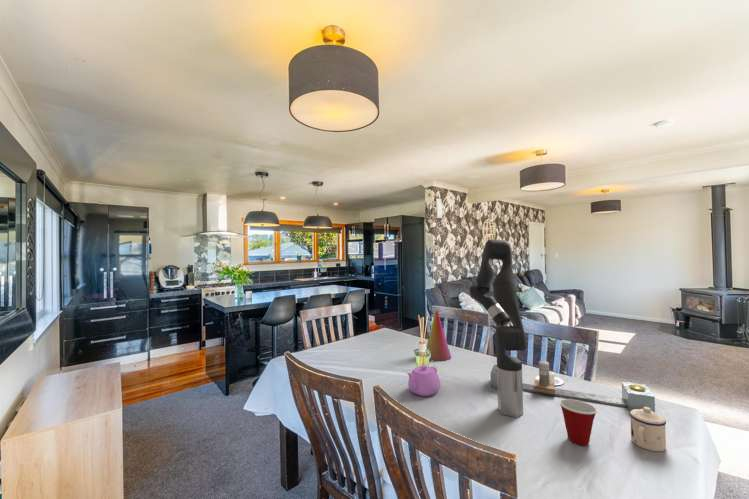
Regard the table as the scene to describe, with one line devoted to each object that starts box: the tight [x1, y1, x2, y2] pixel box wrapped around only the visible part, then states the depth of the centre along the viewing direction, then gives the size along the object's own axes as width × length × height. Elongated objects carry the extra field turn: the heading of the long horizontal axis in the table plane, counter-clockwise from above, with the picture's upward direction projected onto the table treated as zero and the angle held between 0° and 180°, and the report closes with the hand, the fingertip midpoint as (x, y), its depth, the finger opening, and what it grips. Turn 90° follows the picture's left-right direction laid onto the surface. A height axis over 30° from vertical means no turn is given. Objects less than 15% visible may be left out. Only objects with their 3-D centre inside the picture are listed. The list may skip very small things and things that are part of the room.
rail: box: [490, 364, 656, 413], centre depth 142 cm, size 12×59×8 cm, turn 62°
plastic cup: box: [558, 398, 598, 447], centre depth 108 cm, size 11×11×12 cm
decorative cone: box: [426, 306, 452, 362], centre depth 196 cm, size 16×16×30 cm
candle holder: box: [534, 370, 564, 386], centre depth 157 cm, size 12×12×4 cm
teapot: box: [406, 364, 441, 397], centre depth 148 cm, size 20×13×12 cm, turn 131°
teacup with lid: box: [629, 407, 667, 452], centre depth 105 cm, size 12×9×12 cm
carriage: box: [533, 360, 556, 394], centre depth 146 cm, size 9×8×12 cm
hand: (519, 342), depth 156 cm, fingers open, 8 cm apart
